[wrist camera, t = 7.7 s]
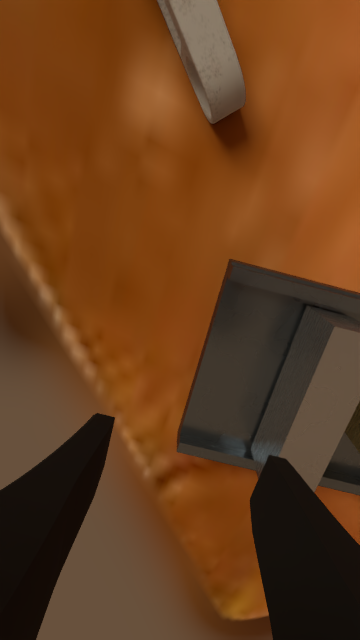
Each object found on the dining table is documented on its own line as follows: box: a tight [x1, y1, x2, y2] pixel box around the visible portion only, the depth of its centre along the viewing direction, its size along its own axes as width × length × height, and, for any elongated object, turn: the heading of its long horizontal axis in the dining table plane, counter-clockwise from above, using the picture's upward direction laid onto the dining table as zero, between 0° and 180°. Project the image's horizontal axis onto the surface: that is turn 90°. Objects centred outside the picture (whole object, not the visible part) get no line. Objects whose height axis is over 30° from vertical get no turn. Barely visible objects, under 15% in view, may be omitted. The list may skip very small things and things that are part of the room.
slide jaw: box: [251, 306, 360, 492], centre depth 17 cm, size 2×10×4 cm, turn 165°
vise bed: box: [177, 259, 360, 495], centre depth 18 cm, size 18×12×5 cm, turn 76°
